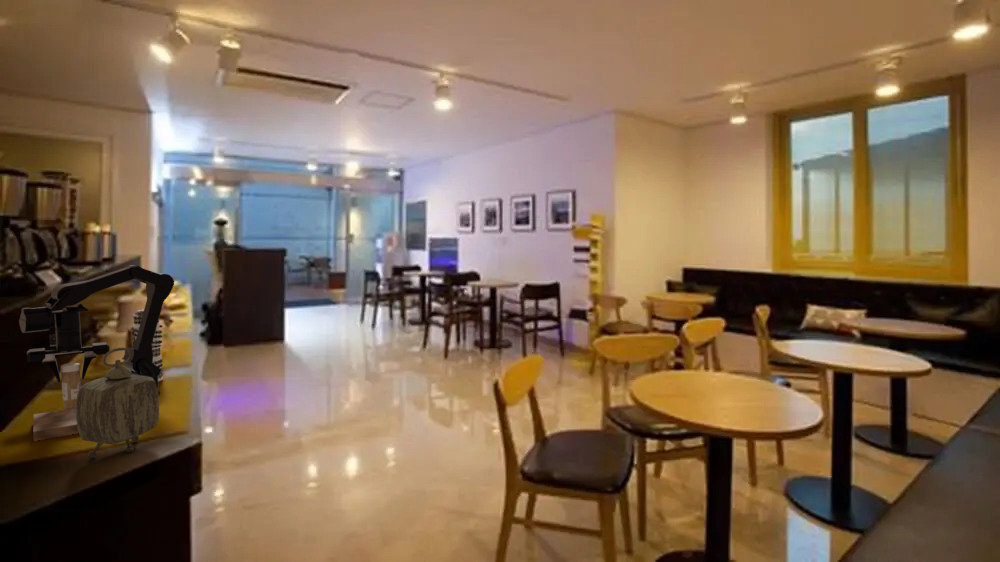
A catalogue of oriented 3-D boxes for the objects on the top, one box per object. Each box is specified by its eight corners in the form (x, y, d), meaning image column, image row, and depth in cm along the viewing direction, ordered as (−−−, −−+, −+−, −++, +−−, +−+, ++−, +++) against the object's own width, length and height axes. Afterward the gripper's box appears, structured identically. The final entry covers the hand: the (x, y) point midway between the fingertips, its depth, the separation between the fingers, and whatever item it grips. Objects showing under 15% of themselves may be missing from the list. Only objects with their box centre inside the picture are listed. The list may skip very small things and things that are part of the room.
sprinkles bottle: (81, 410, 160) (79, 364, 159) (61, 412, 157) (59, 366, 156) (83, 405, 164) (80, 361, 163) (63, 408, 161) (61, 363, 160)
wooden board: (123, 408, 161) (122, 400, 161) (130, 424, 149) (129, 415, 148) (34, 423, 149) (33, 414, 148) (33, 441, 136) (33, 431, 136)
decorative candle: (142, 377, 196) (139, 308, 194) (169, 376, 197) (166, 308, 195) (127, 384, 187) (124, 311, 185) (156, 383, 188) (153, 311, 186)
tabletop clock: (136, 438, 139) (132, 341, 137) (164, 442, 136) (160, 343, 134) (78, 460, 125) (72, 353, 123) (108, 466, 122) (102, 356, 120)
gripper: (105, 321, 171) (107, 370, 172) (26, 327, 159) (29, 380, 160) (108, 326, 162) (111, 377, 164) (25, 333, 150) (28, 388, 152)
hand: (71, 380), depth 160 cm, fingers open, 5 cm apart
